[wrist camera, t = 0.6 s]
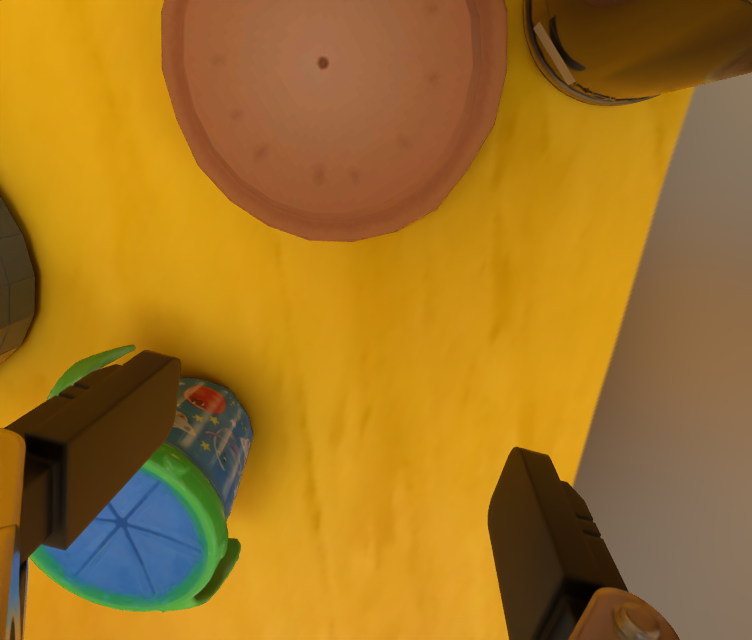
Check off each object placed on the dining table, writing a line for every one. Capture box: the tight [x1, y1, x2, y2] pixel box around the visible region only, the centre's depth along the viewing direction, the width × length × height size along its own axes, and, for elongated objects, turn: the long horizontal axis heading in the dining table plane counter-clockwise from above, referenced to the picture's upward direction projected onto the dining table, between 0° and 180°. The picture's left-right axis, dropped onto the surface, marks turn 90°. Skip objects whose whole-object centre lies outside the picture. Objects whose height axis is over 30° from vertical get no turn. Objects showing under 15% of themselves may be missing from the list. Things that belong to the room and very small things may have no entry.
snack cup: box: [29, 345, 253, 612], centre depth 27 cm, size 16×10×10 cm
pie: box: [161, 0, 507, 242], centre depth 22 cm, size 15×16×5 cm
